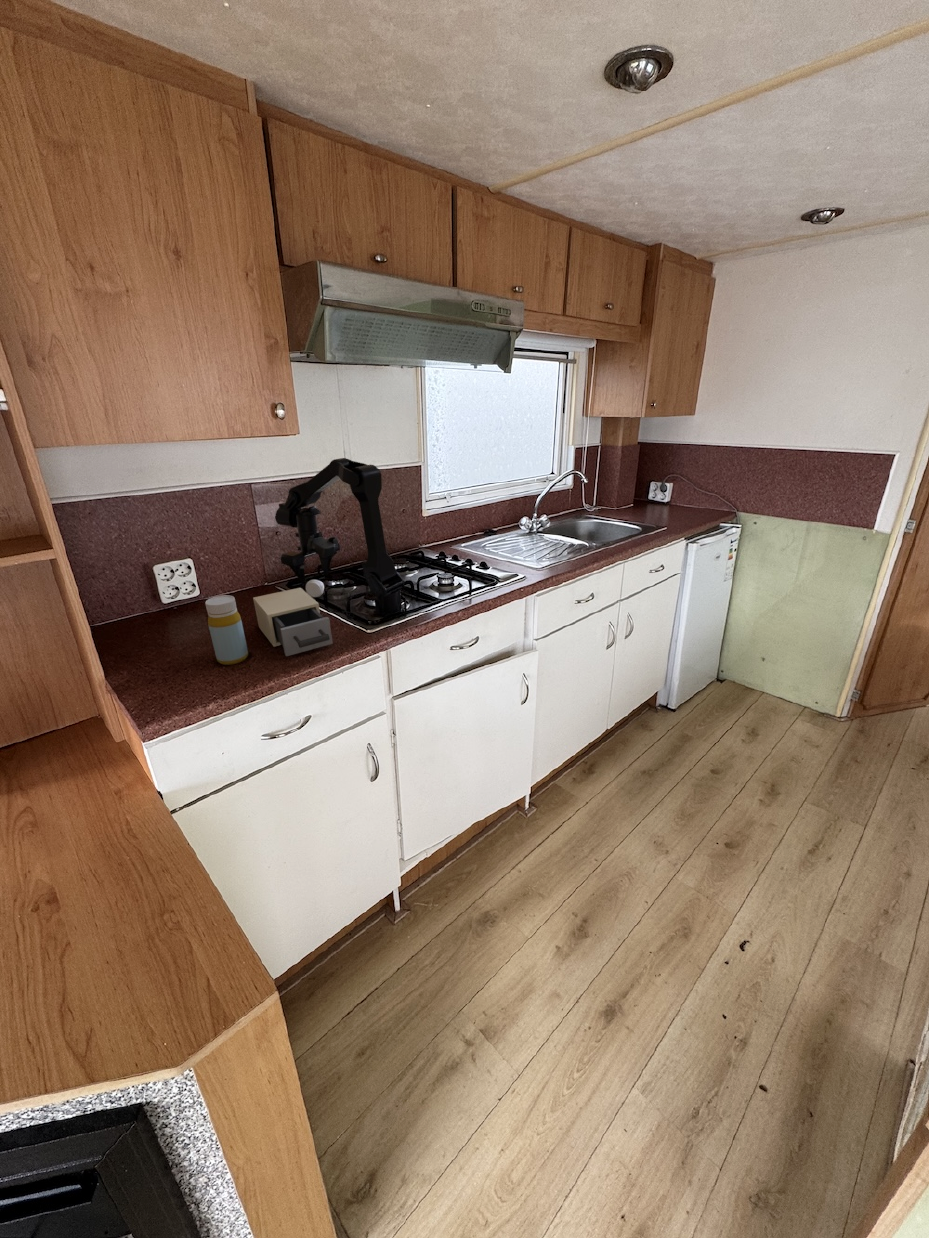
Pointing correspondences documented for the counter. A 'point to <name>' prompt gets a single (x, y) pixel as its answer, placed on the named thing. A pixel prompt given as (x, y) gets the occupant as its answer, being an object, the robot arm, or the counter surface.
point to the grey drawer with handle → (302, 631)
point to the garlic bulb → (314, 588)
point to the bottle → (226, 630)
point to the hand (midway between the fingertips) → (315, 579)
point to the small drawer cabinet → (280, 608)
